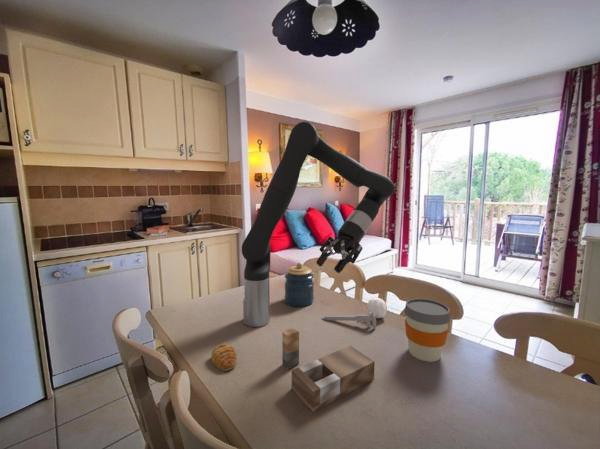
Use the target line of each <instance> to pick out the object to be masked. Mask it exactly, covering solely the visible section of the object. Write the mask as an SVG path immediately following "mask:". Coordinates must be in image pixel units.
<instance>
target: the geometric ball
mask: <svg viewBox="0 0 600 449" xmlns="http://www.w3.org/2000/svg"><path fill="white" fill-rule="evenodd" d="M366 311H367V314H368V313H369V312H370V314H371V313H372V312H373V315H375V318H376V319H380V318H381V319H382V318H383V317H385V316H386V313H387V312H388V305H387V303H386V302H385V300H384V299H382V298H379V297H373V298H371V299H369V300H368V302H367V304H366Z"/></svg>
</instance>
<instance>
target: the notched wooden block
mask: <svg viewBox="0 0 600 449" xmlns="http://www.w3.org/2000/svg"><path fill="white" fill-rule="evenodd" d="M373 380H375V360H373V359H372V358H370V357H369V356H367V355H366V354H365V353H362V352H361V351H360V350H358V349H357V348H355V347H353V346H352V345H348V346H346V347H344V348H342V349H338V350H336V351H334V352H331V353H329V354H327V355H325V356H321V357H320V358H318V359H315V360H313V361H311V362H307V363H305V364H303V365H300V366H298V367H296V368H293V369H291V390H292V391H294V393H295V394H296V395H297V396H298V397H299V399H301V401H302V402H303V403H304V404H305V405H306V406H307V407H308V408H309V409H310V411H311V412H312V413H314V412H316V411H318V410H320V409H321V408H324V407H325V406H327V405H329V404H330V403H332V402H335V401H336V400H339V399H340V398H342V397H343V396H346V395H348V394H349V393H351V392H353V391H355V390H356V389H358V388H360V387H362V386H364V385H365V384H367V383H370V382H372V381H373Z"/></svg>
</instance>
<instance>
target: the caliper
mask: <svg viewBox="0 0 600 449" xmlns="http://www.w3.org/2000/svg"><path fill="white" fill-rule="evenodd" d="M321 320H325V321H346V322H347V321H350V322H351V321H353V322H354V321H355V322H356V323H359V324H360V323H361V324H362V323H364V322H365V323H366V325H367V327H368V329H372V327H371V323H372V325H373V329H374V330H375V329H376V327H377V318H375V315H373V312H372V313H371V314H370V312H369V313H368V312H367V314H356V315H324V316H323V317H322V318H321Z"/></svg>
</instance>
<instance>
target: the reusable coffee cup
mask: <svg viewBox="0 0 600 449" xmlns="http://www.w3.org/2000/svg"><path fill="white" fill-rule="evenodd" d="M404 314H405V319H404V326H405V335H406V338H407V345H408V347H407V348H408V352H409V354H410V355H411V356H412V357H414V358H416V359H417V360H420V361H424V362H429V363H431V362H432V363H433V362H437V361H439V360H440V359H441V356H442V353H443V349H444V348H443V347H444V346H445V345H446V341H447V338H448V333H449V329H450V328H449V323H450V321H451V310H450V308H449V307H448V305H445V304H444V303H443V302H440V301H436V300H433V299H429V298H428V299H427V298H411V299H408V300H407V301H406V302H405V307H404Z"/></svg>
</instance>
